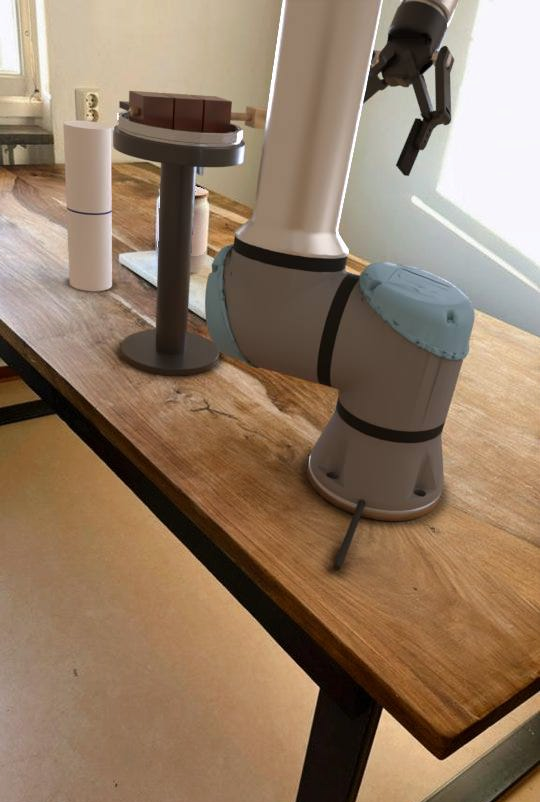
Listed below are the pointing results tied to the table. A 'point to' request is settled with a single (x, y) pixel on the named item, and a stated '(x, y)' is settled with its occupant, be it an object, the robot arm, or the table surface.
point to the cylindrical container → (88, 204)
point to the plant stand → (174, 239)
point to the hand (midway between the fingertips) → (361, 165)
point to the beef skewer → (190, 112)
